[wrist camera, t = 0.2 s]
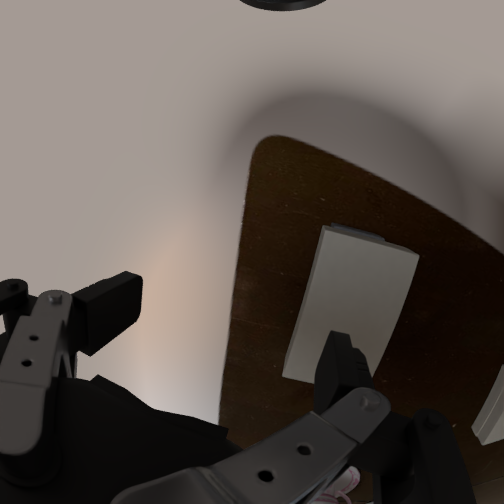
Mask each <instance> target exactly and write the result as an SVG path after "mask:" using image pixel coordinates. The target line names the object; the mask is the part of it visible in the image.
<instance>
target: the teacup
mask: <svg viewBox="0 0 504 504" xmlns="http://www.w3.org/2000/svg"><path fill="white" fill-rule="evenodd" d="M359 481H360V472H359V471H358V469H357V468H356V467H353V466H351V467H350V468H349V469H348V470H347V471H346V472H345V473H344V474H343V475H342V476H341V477H340V478H339V479H338V480H336V481H335V482H334V483H333V484H332V485H331V486H330V487H329V488H328V489H327V490H326V491H325V492H323V493H322V494H321V495H320V496H319V497H318V498H317V499H316V500H315V501H314V502H313V503H311V504H339V503H338V500H337V499H336V498H337V497H339V496H341V497H343V498H344V499H345V500H346V502H347V504H352V503H351V501H350V499H349V497H348V496H347V495H345V494H346V493H348V492H349V491H351V490H352V489H354V488H355V487H356V485H357V484H358V483H359Z"/></svg>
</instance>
